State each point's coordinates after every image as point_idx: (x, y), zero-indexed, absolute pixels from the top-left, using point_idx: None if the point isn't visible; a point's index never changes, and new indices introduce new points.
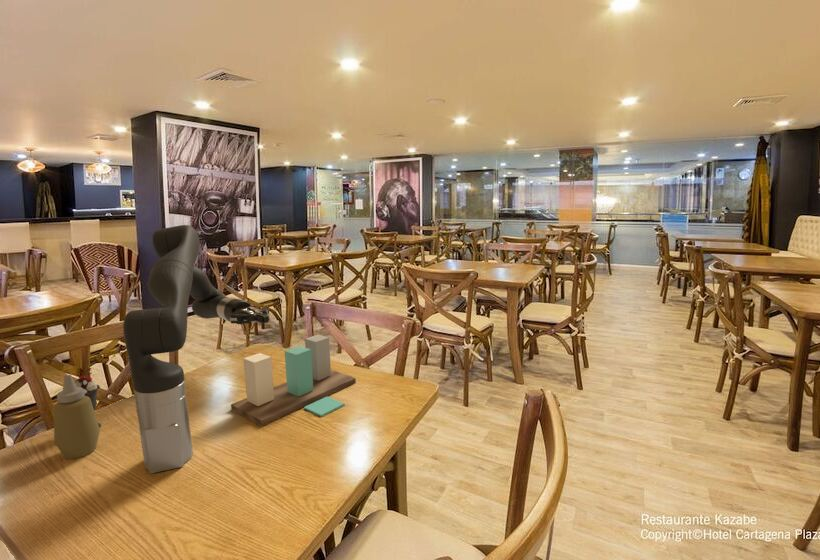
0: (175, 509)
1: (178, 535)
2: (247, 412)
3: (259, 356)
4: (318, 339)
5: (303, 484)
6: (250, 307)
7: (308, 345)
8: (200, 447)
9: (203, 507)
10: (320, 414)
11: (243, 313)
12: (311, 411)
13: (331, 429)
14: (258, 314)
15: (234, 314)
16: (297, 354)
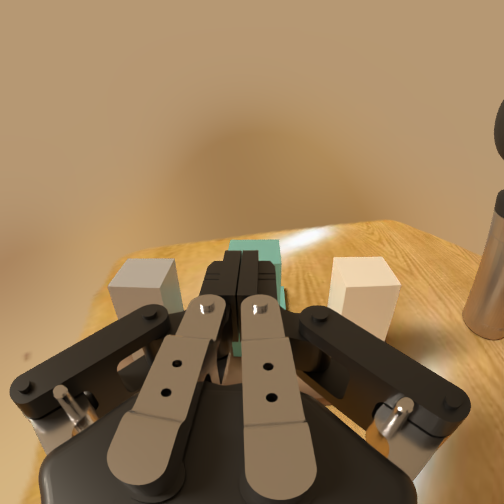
0: (463, 266)
1: (456, 251)
2: (384, 341)
3: (358, 272)
4: (152, 264)
5: (368, 240)
6: (158, 438)
7: (167, 295)
8: (454, 322)
9: (444, 259)
10: (283, 287)
11: (323, 408)
12: (284, 302)
13: (295, 267)
14: (249, 288)
15: (429, 405)
16: (274, 240)
